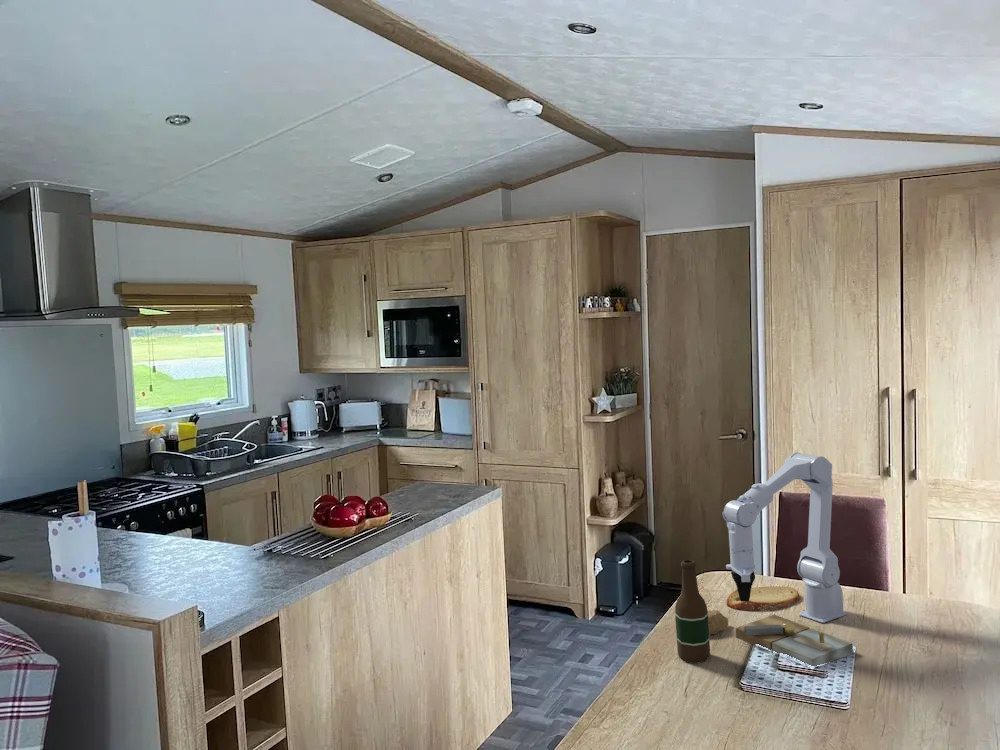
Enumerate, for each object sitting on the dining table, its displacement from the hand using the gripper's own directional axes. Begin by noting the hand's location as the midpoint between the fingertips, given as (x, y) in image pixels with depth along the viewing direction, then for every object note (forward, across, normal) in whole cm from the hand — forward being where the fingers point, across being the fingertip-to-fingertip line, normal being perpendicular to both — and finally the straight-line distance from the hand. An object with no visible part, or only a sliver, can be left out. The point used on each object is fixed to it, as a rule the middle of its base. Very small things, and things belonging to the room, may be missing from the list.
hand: (744, 600), depth 206 cm
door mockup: (+10, +4, +10) cm, 14 cm away
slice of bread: (+10, -26, +8) cm, 29 cm away
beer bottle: (+10, +11, -14) cm, 20 cm away
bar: (+7, +4, +5) cm, 10 cm away
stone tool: (+10, -5, -9) cm, 15 cm away
